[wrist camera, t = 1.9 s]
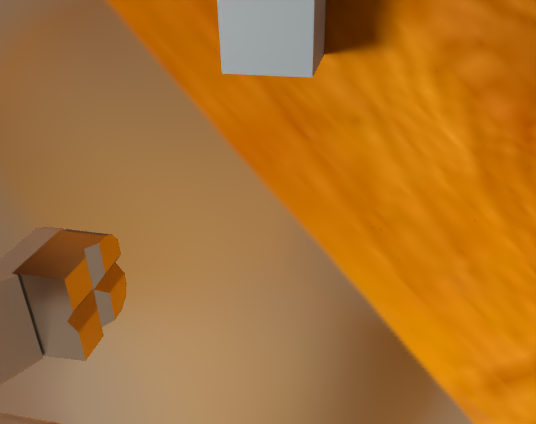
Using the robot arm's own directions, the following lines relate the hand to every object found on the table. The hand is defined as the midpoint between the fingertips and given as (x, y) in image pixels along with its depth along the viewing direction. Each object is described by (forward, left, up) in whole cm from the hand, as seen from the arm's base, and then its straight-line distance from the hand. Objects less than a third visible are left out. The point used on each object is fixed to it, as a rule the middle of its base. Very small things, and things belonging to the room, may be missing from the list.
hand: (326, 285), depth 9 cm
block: (-1, -5, -25) cm, 25 cm away
